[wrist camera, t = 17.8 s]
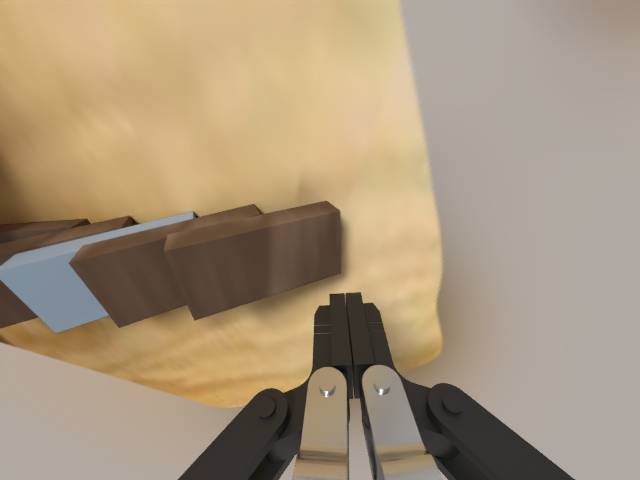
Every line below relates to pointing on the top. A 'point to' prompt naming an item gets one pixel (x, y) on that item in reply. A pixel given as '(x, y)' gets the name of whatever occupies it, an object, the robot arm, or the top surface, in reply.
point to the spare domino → (63, 278)
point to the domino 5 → (254, 256)
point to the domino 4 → (140, 269)
